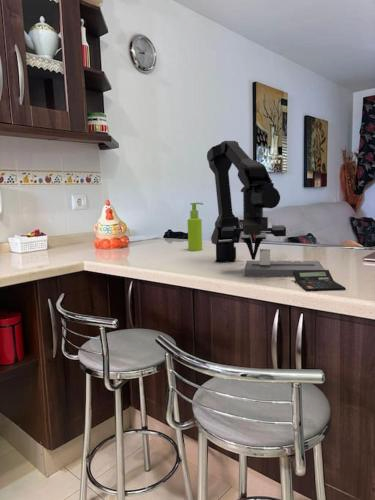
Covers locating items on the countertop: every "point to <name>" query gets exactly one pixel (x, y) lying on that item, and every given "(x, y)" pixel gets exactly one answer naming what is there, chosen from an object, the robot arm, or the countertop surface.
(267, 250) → the fader
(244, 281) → the countertop surface
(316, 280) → the calculator
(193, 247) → the soap dispenser
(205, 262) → the countertop surface
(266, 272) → the gray slotted panel
